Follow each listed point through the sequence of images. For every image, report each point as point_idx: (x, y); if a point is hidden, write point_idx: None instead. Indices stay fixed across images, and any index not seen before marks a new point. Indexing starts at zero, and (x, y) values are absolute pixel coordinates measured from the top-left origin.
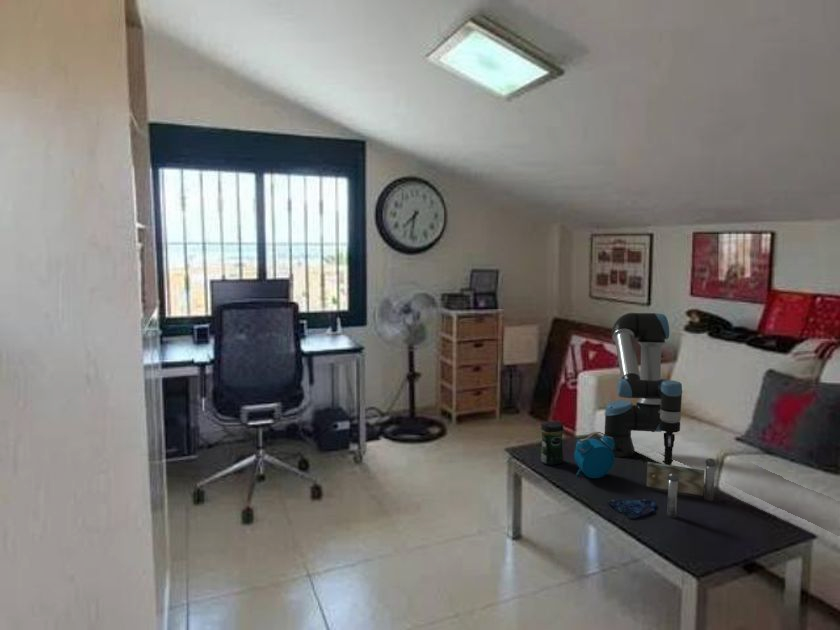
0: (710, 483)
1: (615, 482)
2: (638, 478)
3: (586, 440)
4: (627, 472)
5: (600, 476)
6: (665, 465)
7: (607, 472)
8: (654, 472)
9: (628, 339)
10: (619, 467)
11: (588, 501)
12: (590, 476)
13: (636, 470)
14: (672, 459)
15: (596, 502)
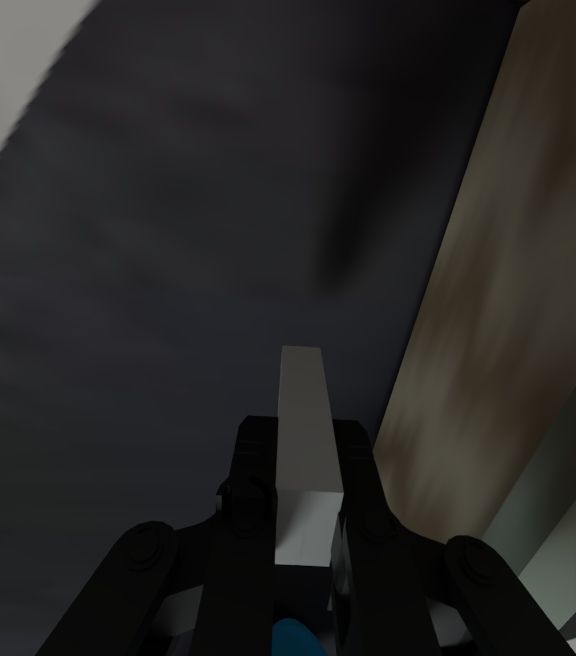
0: None
1: (321, 566)
2: (216, 480)
3: None
4: None
5: (293, 622)
6: (551, 596)
7: (274, 628)
8: None
9: None
10: (87, 550)
11: (561, 633)
12: (321, 654)
13: (80, 484)
14: (220, 503)
15: (573, 616)
